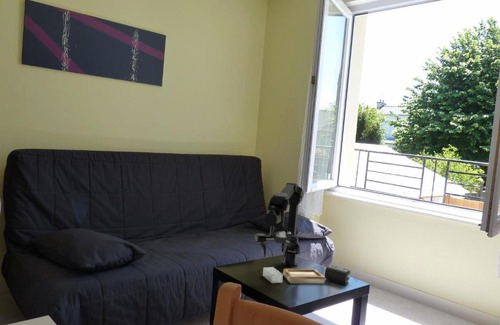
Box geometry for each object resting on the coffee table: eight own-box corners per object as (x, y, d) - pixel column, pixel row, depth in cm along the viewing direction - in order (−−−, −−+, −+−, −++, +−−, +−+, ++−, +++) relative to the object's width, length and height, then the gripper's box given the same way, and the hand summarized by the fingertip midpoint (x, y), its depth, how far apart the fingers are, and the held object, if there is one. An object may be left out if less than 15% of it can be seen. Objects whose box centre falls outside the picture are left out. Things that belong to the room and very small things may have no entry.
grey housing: (262, 276, 181) (263, 267, 180) (272, 275, 183) (273, 267, 182) (271, 283, 171) (272, 274, 171) (282, 283, 173) (282, 274, 173)
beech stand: (283, 274, 184) (283, 268, 184) (314, 275, 188) (315, 268, 188) (290, 283, 173) (291, 276, 173) (324, 283, 177) (324, 276, 177)
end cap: (323, 281, 180) (325, 267, 180) (329, 277, 186) (330, 263, 186) (344, 287, 175) (346, 272, 174) (349, 283, 180) (351, 269, 180)
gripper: (262, 226, 166) (259, 262, 167) (303, 227, 170) (300, 262, 171) (255, 220, 177) (252, 254, 177) (294, 222, 181) (291, 255, 182)
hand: (274, 257), depth 177 cm, fingers open, 9 cm apart
